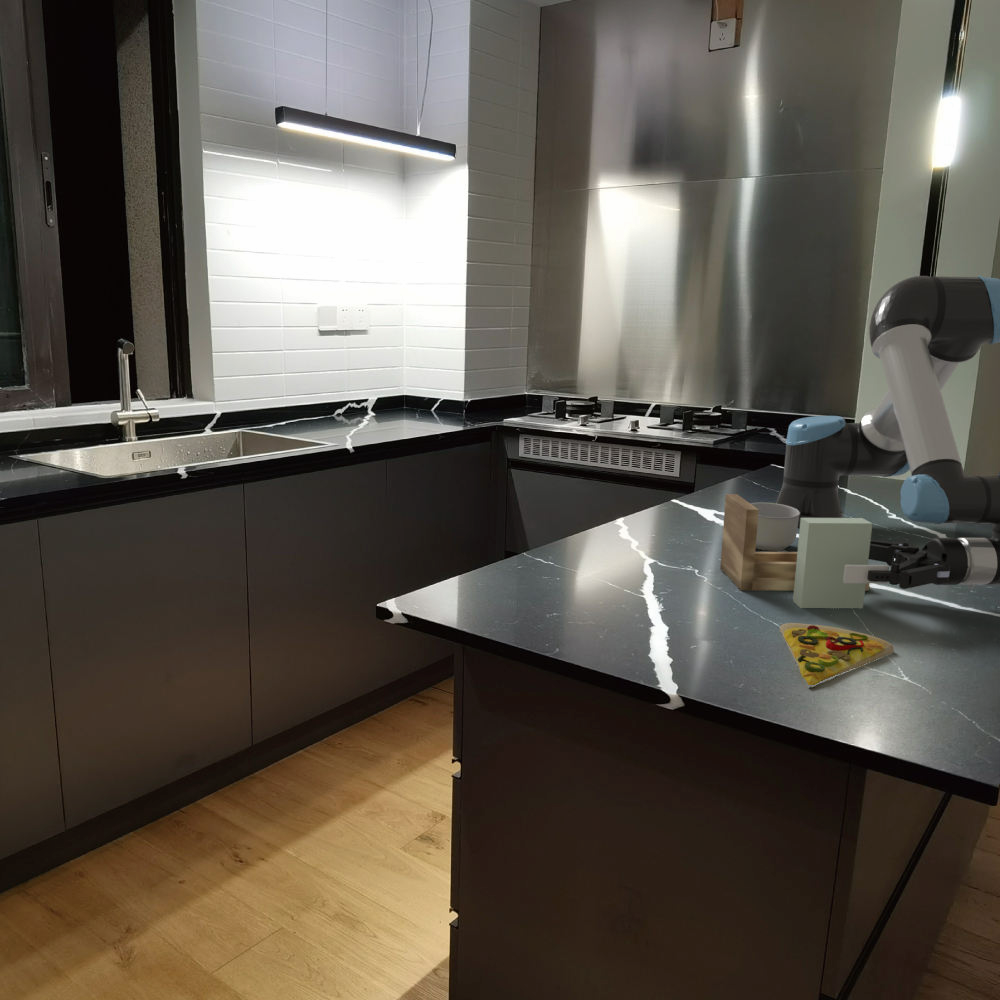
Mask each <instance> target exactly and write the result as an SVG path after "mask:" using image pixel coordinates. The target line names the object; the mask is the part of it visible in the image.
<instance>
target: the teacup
mask: <svg viewBox="0 0 1000 1000" xmlns="http://www.w3.org/2000/svg"><path fill="white" fill-rule="evenodd" d="M750 504H751V505H753V506H754V507H756V508H757V509H759V513H758V525H757V537H756V549H758V550H760V549H761V551H765V550H767V551H766V552H780V551H779V550H781V551H784V550H785V549H787V547H789V546H791V545H793V544H794V542H795V541H796V538H797V534H798V529H799V528H798V521H799V515H800V512H799V510H797V509H795V508H793V507H790V506H787V505H782V504H777V503H776V502H775V503H774V502H750ZM783 549H784V550H783Z"/></svg>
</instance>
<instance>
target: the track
mask: <svg viewBox="0 0 1000 1000" xmlns="http://www.w3.org/2000/svg"><path fill="white" fill-rule="evenodd" d="M724 501H725V502H724V513H723V526H722V539H721V540H722V541H721V552H720V553H721V554H720V555H721V557H720V565H719V566H720V567H719V569H720V570H722V571H723V572H724V573H725V574H726V575H727V576H728V577H729V578H730V579H731V580H732V581H733V582H734V583H735V584H736V585H735V584H734V583H733V582H732V581H731V580H730V579H729V578H728V577H727V576H726V575H725V574H724V575H725V576H726V577H727V578H728V579H729V580H730V581H731V582H732V583H733V584H734V585H735V587H737V586H738V587H737V588H738V589H739V588H740V589H739V590H740V591H793V592H794V584H795V574H796V563H797V552H798V551H756V549H757V548H756V537H757V525H758V513H759V509H757V508H756V507H754V506H753V505H751V502H749V501H747V500H746V499H744V498H743V497H742V496H740V495H739V494H736V493H730V494H729V493H726V494H725V500H724ZM722 571H721V572H722ZM723 572H722V573H723ZM870 584H871V583H866V585H865V592H867V591H868V592H869V590H870Z"/></svg>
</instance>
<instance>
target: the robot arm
mask: <svg viewBox="0 0 1000 1000" xmlns="http://www.w3.org/2000/svg"><path fill="white" fill-rule="evenodd" d="M869 321H870V322H869V328H868V329H869V330H868V332H869V333H868V335H869V341H870V346H871V350H872V353H873V355H874V356H875V357H876V358H877V359H880V360H881V363H882V368H883V371H884V375H885V379H886V383H887V386H888V389H887V391H886V392H885V394H884V395H883V398H882V399H881V400H880V402H879V404H878V406H877V407H875V408H873V409H870V410H869V411H867V412H865V414H864V415H863V416H862V418H861V420H860V422H846V419H845V418H844V417H842V416H838V415H815V416H807V417H802V418H797V419H795V420H793V421H792V422H790V424H789V425H788V429H787V435H786V439H785V456H784V470H783V481H782V486H781V489H780V491H779V494H778V496H777V498H776V502H775V503H777V504H782V505H787V506H790V507H793V508H795V509H797V510H799V512H800V515H799V521H798V527H799V528H800V520H801V518H844V511H843V510H842V502H841V497H840V493H839V480H840V477H841V476H850V477H852V476H854V477H855V476H856V477H858V476H859V477H882V478H887V477H888V478H889V477H896V476H898V477H899V476H902V475H904V474H906V473H908V472H910V476H908V477H907V478H905V480H904V482H903V483H902V485H901V489H900V493H899V494H900V508H901V510H902V512H903V515H904V516H905V518H907V519H908V520H910V521H912V522H915V523H924V524H925V523H926V524H934V525H941V524H980V525H981V524H984V525H986V524H987V525H992V537H989V538H988V537H957V538H955V537H933V538H931V539H929V540H928V541H927V542H926V544H925V545H924V547H922V548H921V549H920V547H919V546H916V545H915V546H914V545H910V543H908V542H906V541H904V542H901V541H900V542H899V541H898V542H895V541H886V540H877V539H876V540H875V539H871V540H870V549H869V558H868V560H871V561H876V562H877V561H878V562H882V563H886V564H868V565H845V567H844V576H843V582H844V583H870V584H888V583H889V584H890V585H892V586H896V585H898V587H899V589H902V590H907V589H912V588H916V587H921V586H925V585H930V584H933V585H936V586H956V585H961V586H963V585H964V586H965V585H967V587H968V588H975V585H980V586H981V585H982V586H983V585H984V586H985V585H986V586H987V585H994V586H995V585H999V586H1000V472H998V474H997V475H998V476H997V475H992V476H991V475H990V476H988V475H987V476H986V475H985V476H984V475H983V476H982V475H981V476H980V475H966V474H965V471H964V468H963V466H962V462H961V457H960V454H959V450H958V447H957V443H956V441H955V436H954V433H953V429H952V426H951V423H950V419H949V416H948V412H947V408H946V405H945V402H944V398H943V396H942V392H941V391H942V389H943V388H944V387H945V385H946V384H947V382H948V380H950V377H951V376H952V375H953V373H954V372H955V370H956V369H957V368H958V366H959V364H962V363H965V362H968V361H970V360H972V359H973V358H974V357H975V356H976V354H977V353H978V352H979V350H980V349H981V347H982V346H983V345H985V344H988V345H995V344H999V343H1000V279H999V278H997V277H984V276H982V275H978V276H928V275H918V276H917V275H916V276H911V277H908V278H905V279H903V280H901V281H899V282H897V283H896V284H894V285H892V286H891V287H890V288H889V289H887V290H886V292H885V293H884V294H883V295H882V296H881V297H880V298H879V300H878V301H877V302H876V305H875V307H874V309H873V312H872V313H871V317H870V320H869Z"/></svg>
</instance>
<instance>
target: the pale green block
mask: <svg viewBox="0 0 1000 1000" xmlns="http://www.w3.org/2000/svg"><path fill="white" fill-rule="evenodd" d="M872 529H873V523H872V522H870V521H869V520H867V519H865V518H863V517H843V518H801V520H800V527H799V532H798V543H797V551H796V552H797V563H796V574H795V584H794V591H793V596H792V597H793V598H792V602H793V603H796V604H795V605H797V606H798V607H799V608H800V609H801V608H830V609H831V608H833V609H834V608H836V609H837V608H838V609H837V610H839V608H860V609H861V608H862V609H861V610H863V609H864V604H865V603H864V602H865V601H864V600H865V593H866V591H865V585H866V583H844V582H843V576H844V567H845V565H869V559H868V558H869V549H870V540H872V533H873V531H872ZM830 609H829V610H830Z"/></svg>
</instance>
